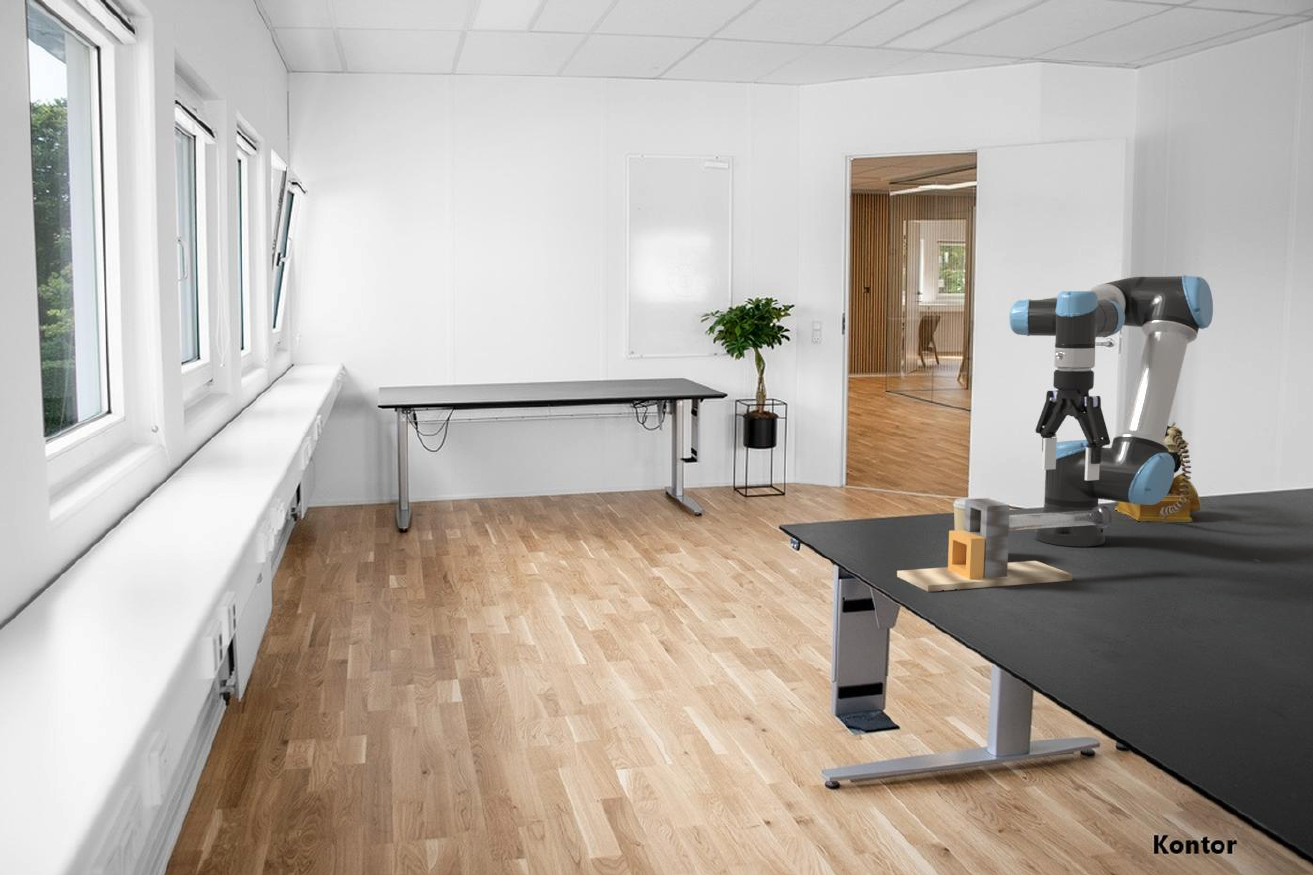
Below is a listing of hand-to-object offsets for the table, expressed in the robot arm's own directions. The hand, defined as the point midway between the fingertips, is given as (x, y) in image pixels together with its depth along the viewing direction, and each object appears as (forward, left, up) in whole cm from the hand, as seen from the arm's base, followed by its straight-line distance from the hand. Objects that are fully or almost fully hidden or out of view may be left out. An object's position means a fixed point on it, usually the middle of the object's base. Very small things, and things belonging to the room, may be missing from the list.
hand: (1069, 474), depth 224 cm
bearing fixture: (+19, 0, -20) cm, 28 cm away
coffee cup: (+10, -18, -20) cm, 29 cm away
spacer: (+23, 0, -19) cm, 30 cm away
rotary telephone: (-60, -40, -20) cm, 75 cm away
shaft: (+5, 0, -11) cm, 12 cm away
